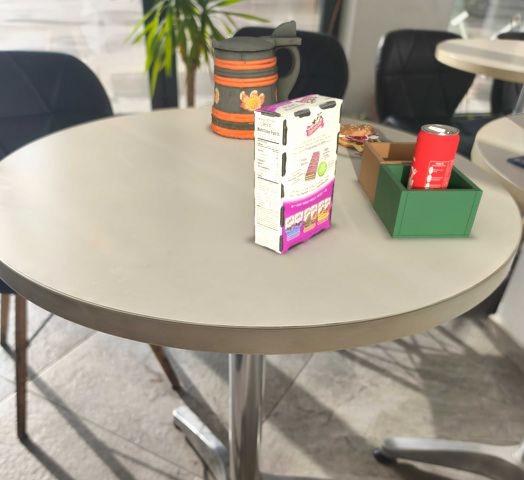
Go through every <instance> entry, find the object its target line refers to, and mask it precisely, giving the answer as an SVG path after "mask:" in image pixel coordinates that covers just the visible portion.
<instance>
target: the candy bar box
mask: <svg viewBox="0 0 524 480" xmlns="http://www.w3.org/2000/svg"><path fill="white" fill-rule="evenodd" d="M343 101H344V100H343V99H341V98H337V97H333V96H332V97H331V96H327V95H321V94H319V93H317V94H312V93H311V94H308V95H304V96H300V97H296V98H293V99H289V100H288V101H285V102H281V103H277V104H274V105H270V106H266V107H263V108H259V109H255V110H254V139H253V149H254V150H253V171H254V172H253V173H254V179H253V180H254V181H253V182H254V184H253V186H254V187H253V190H254V191H253V192H254V193H253V196H254V203H253V205H254V208H253V209H254V212H253V214H254V244H255V245H257V246H259V247H261V248H265V249H267V250H270V251H272V252H274V253H277V254H279V255H283V254H285V253H288V252H289V251H290V250H293V249H294V248H296V247H298V246H299V245H301V244H303V243H305V242H306V241H308V240H310V239H312V238H314V237H316V236H317V235H319V234H321V233H322V232H324V231H326V230H328V229H330V228H331V223H332V214H333V213H332V211H333V203H334V193H335V181H336V171H337V163H338V152H339V151H338V150H339V132H340V127H341V122H342V121H341V120H342V111H343V103H344V102H343Z"/></svg>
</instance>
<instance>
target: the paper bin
mask: <svg viewBox="0 0 524 480" xmlns="http://www.w3.org/2000/svg"><path fill="white" fill-rule="evenodd" d="M415 146H416V141H381V142H364V148H363V151H362V152H363V155H362V156H361V157H362V158H361V162H360V168H359V169H360V170H359V175H358V176H359V177H358V183H359V185H360V186H361V189H362V190H363V191H364V193H365V194H366V196H367V197H368V199H369V200H370V203H371V204H372V205H373V204H374V198H375V192H376V186H377V180H378V174H379V168H380V164H412V160H413V155H414V151H415Z"/></svg>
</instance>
